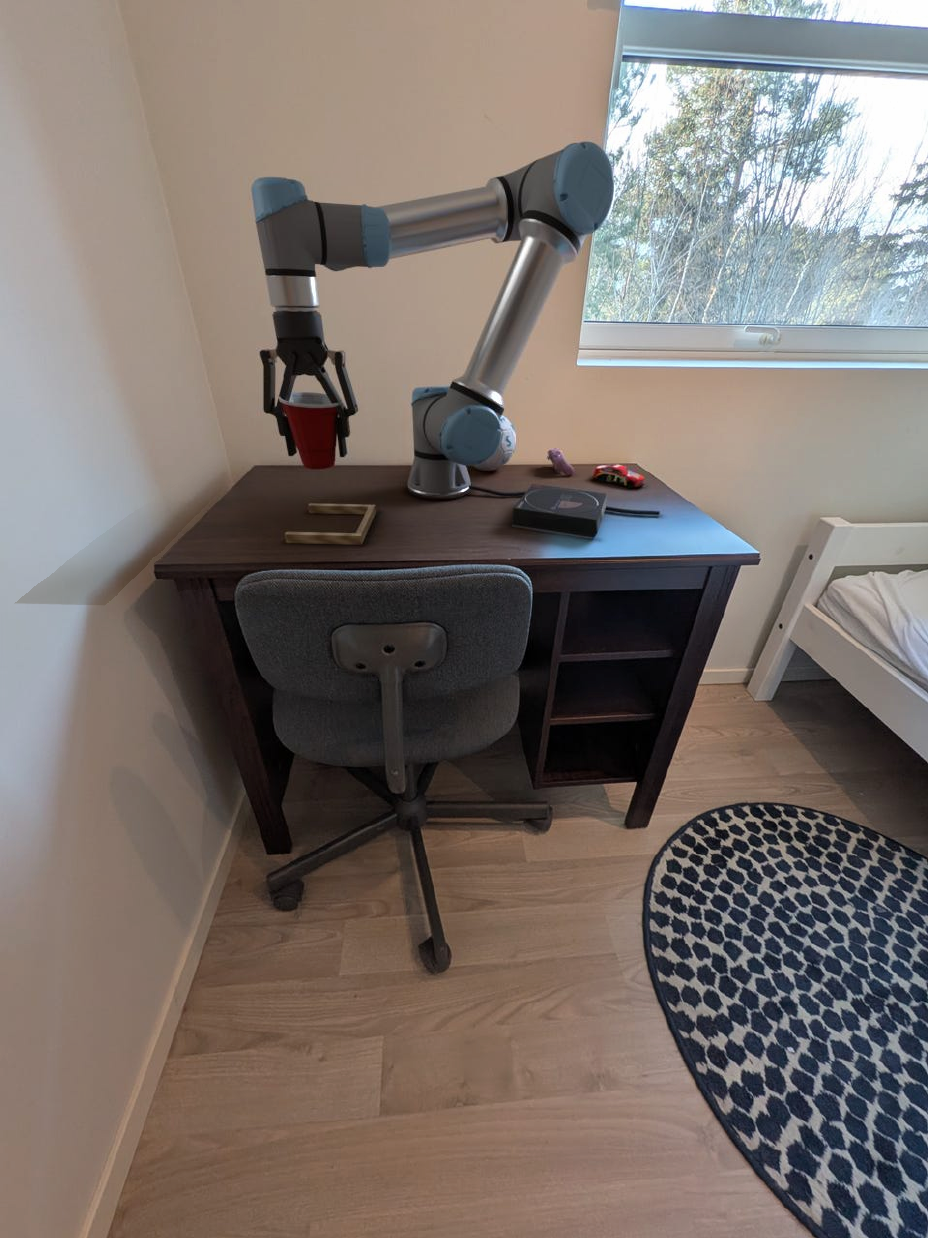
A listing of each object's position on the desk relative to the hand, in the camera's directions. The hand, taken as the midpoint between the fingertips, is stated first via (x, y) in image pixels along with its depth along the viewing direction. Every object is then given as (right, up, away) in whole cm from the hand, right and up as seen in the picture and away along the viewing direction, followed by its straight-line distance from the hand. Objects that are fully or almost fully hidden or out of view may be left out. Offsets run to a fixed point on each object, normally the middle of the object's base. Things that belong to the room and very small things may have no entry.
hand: (318, 454), depth 88 cm
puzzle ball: (+33, +11, +43) cm, 55 cm away
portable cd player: (+48, -9, +14) cm, 51 cm away
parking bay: (0, -12, +8) cm, 14 cm away
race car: (+67, +5, +35) cm, 76 cm away
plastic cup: (0, -2, +1) cm, 2 cm away
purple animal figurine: (+53, +10, +43) cm, 69 cm away
